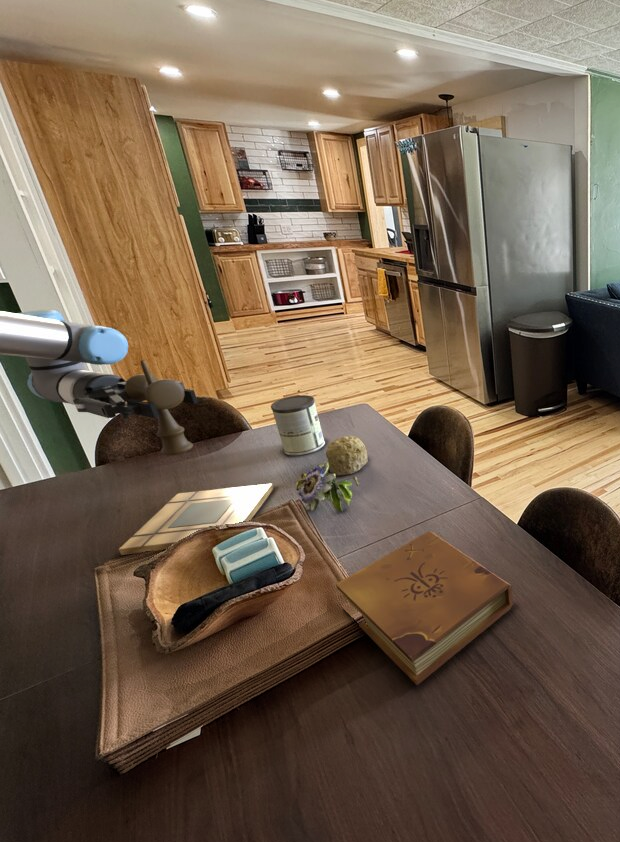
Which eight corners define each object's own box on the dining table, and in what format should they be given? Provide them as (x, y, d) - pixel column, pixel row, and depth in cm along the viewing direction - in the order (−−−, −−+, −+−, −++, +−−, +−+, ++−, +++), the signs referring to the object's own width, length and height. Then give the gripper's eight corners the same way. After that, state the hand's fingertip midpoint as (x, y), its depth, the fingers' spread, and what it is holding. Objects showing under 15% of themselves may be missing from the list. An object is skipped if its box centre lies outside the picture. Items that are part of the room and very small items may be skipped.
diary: (513, 607, 82) (511, 581, 80) (417, 686, 69) (411, 658, 66) (436, 551, 95) (432, 528, 93) (342, 608, 82) (335, 582, 79)
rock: (327, 480, 126) (307, 461, 118) (348, 444, 133) (331, 425, 125) (359, 486, 125) (342, 468, 117) (380, 450, 131) (364, 430, 123)
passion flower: (316, 528, 110) (281, 488, 108) (356, 498, 118) (324, 460, 116) (329, 520, 103) (292, 478, 101) (371, 489, 110) (337, 449, 108)
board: (121, 555, 94) (118, 548, 93) (179, 498, 112) (177, 492, 111) (235, 541, 98) (232, 534, 97) (274, 488, 116) (272, 483, 115)
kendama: (173, 463, 94) (134, 368, 86) (148, 452, 98) (109, 360, 90) (207, 450, 99) (173, 358, 91) (182, 440, 102) (148, 352, 95)
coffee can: (281, 445, 136) (268, 400, 131) (321, 435, 142) (310, 392, 137) (286, 459, 129) (273, 412, 123) (328, 448, 135) (317, 402, 129)
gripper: (155, 390, 108) (229, 402, 102) (42, 425, 91) (123, 442, 85) (142, 359, 105) (218, 370, 99) (24, 389, 88) (106, 404, 82)
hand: (174, 403), depth 92 cm, fingers closed on kendama, 6 cm apart
